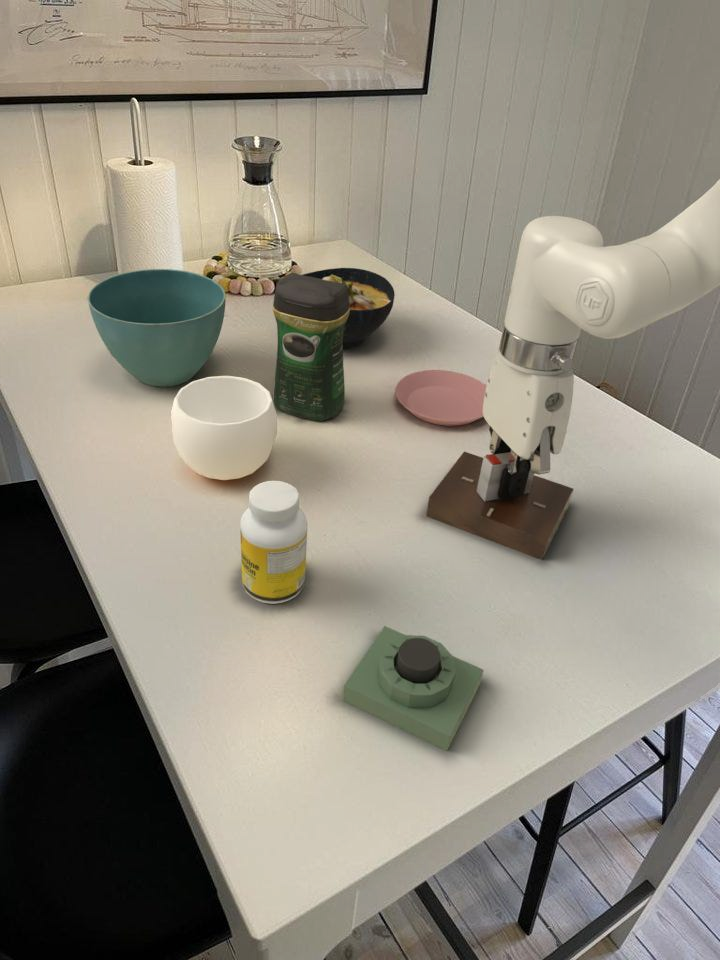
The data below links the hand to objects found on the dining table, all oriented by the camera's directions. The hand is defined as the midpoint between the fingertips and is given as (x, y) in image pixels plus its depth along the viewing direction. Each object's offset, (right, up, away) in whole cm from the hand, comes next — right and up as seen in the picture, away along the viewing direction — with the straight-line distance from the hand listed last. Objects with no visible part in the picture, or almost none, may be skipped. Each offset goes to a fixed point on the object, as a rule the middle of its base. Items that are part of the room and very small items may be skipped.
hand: (504, 488), depth 87 cm
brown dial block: (0, -3, +2) cm, 4 cm away
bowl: (-20, +24, +36) cm, 48 cm away
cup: (-33, +2, +6) cm, 34 cm away
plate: (-5, +11, +21) cm, 24 cm away
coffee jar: (-24, +11, +18) cm, 32 cm away
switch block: (-12, -18, -20) cm, 29 cm away
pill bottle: (-26, -10, -10) cm, 29 cm away
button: (-12, -15, -22) cm, 29 cm away
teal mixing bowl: (-45, +16, +23) cm, 53 cm away
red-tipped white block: (0, 0, 0) cm, 1 cm away
